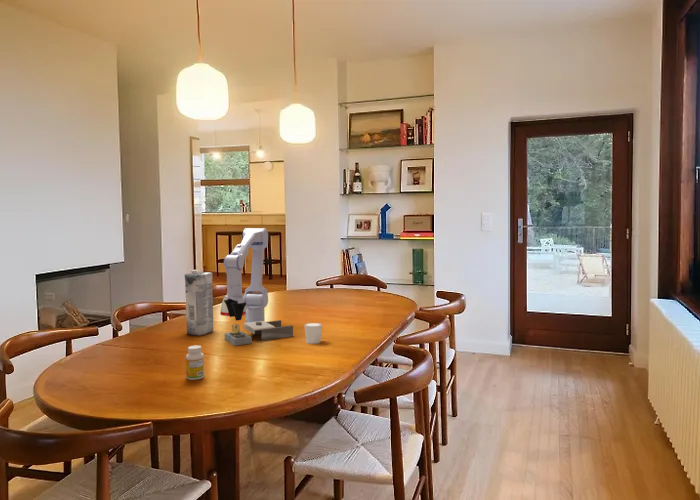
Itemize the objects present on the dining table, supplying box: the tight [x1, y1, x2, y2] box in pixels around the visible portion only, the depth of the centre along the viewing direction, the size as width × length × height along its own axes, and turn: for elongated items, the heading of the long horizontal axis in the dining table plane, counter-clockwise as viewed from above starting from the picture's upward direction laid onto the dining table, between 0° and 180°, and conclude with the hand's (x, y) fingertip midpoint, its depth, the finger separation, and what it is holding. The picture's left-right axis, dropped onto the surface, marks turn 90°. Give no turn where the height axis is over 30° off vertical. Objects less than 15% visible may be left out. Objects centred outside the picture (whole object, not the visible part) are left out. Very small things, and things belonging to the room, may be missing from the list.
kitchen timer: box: [219, 287, 247, 317], centre depth 262 cm, size 14×14×15 cm
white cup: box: [304, 322, 323, 345], centre depth 205 cm, size 7×7×7 cm
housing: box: [250, 319, 294, 342], centre depth 216 cm, size 13×14×4 cm
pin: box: [231, 323, 241, 335], centre depth 209 cm, size 3×3×6 cm
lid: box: [242, 321, 275, 335], centre depth 213 cm, size 13×9×3 cm
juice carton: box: [184, 269, 214, 336], centre depth 220 cm, size 9×10×27 cm
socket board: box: [224, 330, 253, 347], centre depth 207 cm, size 12×7×2 cm, turn 31°
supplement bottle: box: [185, 344, 205, 381], centre depth 162 cm, size 5×5×10 cm
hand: (235, 318), depth 208 cm, fingers open, 7 cm apart
